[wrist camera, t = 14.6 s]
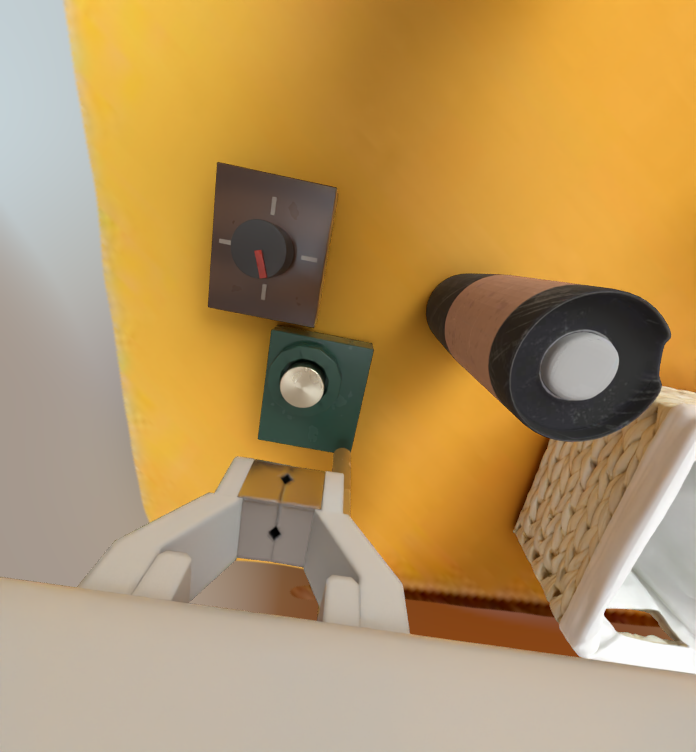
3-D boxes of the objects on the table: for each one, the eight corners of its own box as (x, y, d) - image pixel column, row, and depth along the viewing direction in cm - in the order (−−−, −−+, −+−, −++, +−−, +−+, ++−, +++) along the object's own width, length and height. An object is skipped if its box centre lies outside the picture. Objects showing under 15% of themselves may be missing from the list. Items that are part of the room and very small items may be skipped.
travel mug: (407, 316, 35) (471, 384, 16) (460, 253, 33) (603, 247, 14) (461, 361, 37) (578, 472, 18) (515, 304, 35) (712, 359, 16)
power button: (286, 357, 32) (283, 362, 31) (328, 365, 33) (327, 371, 31) (280, 396, 34) (277, 403, 32) (321, 404, 34) (319, 411, 32)
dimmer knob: (238, 227, 30) (222, 223, 26) (288, 219, 30) (280, 214, 26) (249, 279, 31) (236, 282, 28) (297, 273, 31) (290, 275, 28)
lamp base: (277, 324, 36) (266, 333, 31) (372, 343, 36) (375, 354, 32) (263, 427, 39) (252, 448, 35) (350, 443, 40) (349, 465, 36)
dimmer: (229, 170, 31) (216, 161, 28) (338, 193, 32) (337, 187, 29) (219, 303, 35) (206, 307, 32) (317, 322, 36) (313, 328, 33)
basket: (575, 353, 36) (714, 413, 22) (720, 382, 37) (942, 458, 23) (499, 534, 44) (567, 663, 30) (620, 555, 45) (742, 690, 31)
